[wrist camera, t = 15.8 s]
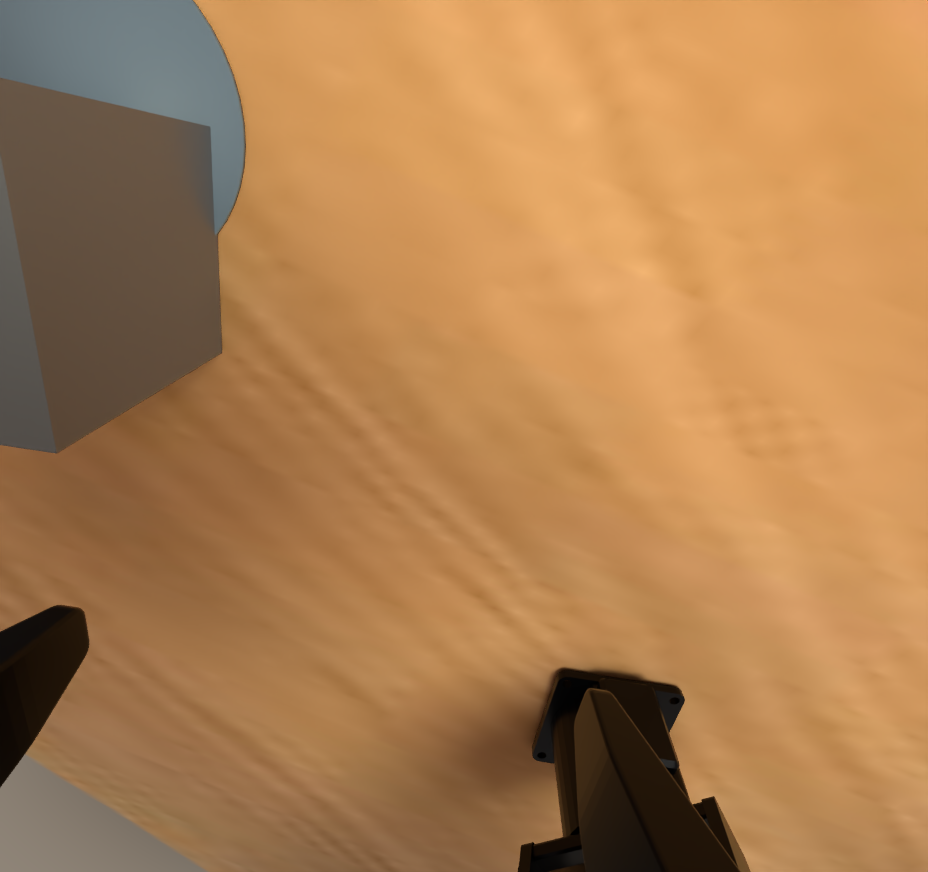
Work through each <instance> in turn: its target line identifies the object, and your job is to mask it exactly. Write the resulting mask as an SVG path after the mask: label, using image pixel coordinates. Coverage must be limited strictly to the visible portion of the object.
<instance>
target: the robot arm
mask: <svg viewBox="0 0 928 872" xmlns="http://www.w3.org/2000/svg"><path fill="white" fill-rule="evenodd" d="M88 648H89V636H88V630H87V624H86V618H85V613H84V611H83V610H82V609H81V608H78V607H71V606H65V605H56V606H53V607H50V608H48V609H46V610H44V611H42V612H40V613H38V614H36V615H34V616H32V617H30V618H28V619H26V620H24V621H21V622H19V623H17V624H15V625H13V626H11V627H9V628H7V629H5V630H3V631H1V632H0V787H1V786H2V784H3V783H4V782H5V780H6V779H7V777H8V776H9V775H10V774H11V772H12V771H13V769H14V768H15V767H16V765H17V764H18V763H19V761H20V760H21V759H22V757H23V756H24V754H25V753H26V752H27V750H28V749H29V747H30V746H31V745H32V743H33V742H34V740H35V738H36V737H37V735H38V734H39V732H40V731H41V729H42V727H43V726H44V724H45V722H46V721H47V719H48V717H49V716H50V714H51V713H52V711H53V709H54V708H55V706H56V704H57V703H58V701H59V699H60V698H61V696H62V694H63V693H64V691H65V689H66V688H67V686H68V684H69V683H70V681H71V679H72V678H73V676H74V674H75V673H76V671H77V670H78V668H79V666H80V665H81V663H82V661H83V660H84V658H85V656H86V654H87V651H88ZM566 680H569V681H566ZM684 701H685V699H684V696H683V694H682V691H681V690H680V689H679V688H676V687H671V686H664V685H658V684H652V683H645V682H639V681H633V680H626V679H620V678H614V677H607V676H601V675H595V674H588V673H582V672H576V671H569V670H564V671H561V672H559V673H558V674H557V676H556V679H555V682H554V685H553V688H552V690H551V693H550V696H549V699H548V702H547V705H546V708H545V711H544V714H543V717H542V720H541V723H540V726H539V729H538V732H537V734H536V737H535V740H534V743H533V746H532V754H533V758H534V759H535V760H537V761H541V762H547V763H554V764H555V772H556V781H557V789H558V798H559V806H560V815H561V823H562V832H563V837H562V838H558V839H554V840H550V841H546V842H542V843H538V844H534V843H533V842H532V843H528V844H524V845H521V852H520V862H519V867H518V872H750V869H749V867H748V864H747V862H746V859H745V857H744V855H743V853H742V851H741V849H740V847H739V845H738V843H737V841H736V839H735V837H734V835H733V833H732V831H731V829H730V827H729V825H728V823H727V821H726V819H725V817H724V815H723V813H722V811H721V809H720V807H719V805H718V803H717V801H716V799H715V797H714V796H713V797H709V798H705V799H702V802H701V803H697V804H693V805H692V803H691V802H690V799H689V796H688V793H687V790H686V787H685V784H684V781H683V778H682V775H681V772H680V769H679V761H678V758H677V755H676V752H675V749H674V746H673V743H672V740H671V737H670V734H669V732H670V730H671V728H672V726H673V724H674V722H675V720H676V718H677V716H678V714H679V712H680V710H681V708H682V706H683V704H684Z"/></svg>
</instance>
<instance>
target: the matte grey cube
mask: <svg viewBox="0 0 928 872" xmlns="http://www.w3.org/2000/svg"><path fill="white" fill-rule="evenodd" d="M221 353H222V338H221V312H220V287H219V261H218V235H215V227H214V202H213V178H212V153H211V129H210V126H205V125H201V124H197V123H193V122H188V121H184V120H180V119H175V118H171V117H167V116H163V115H158V114H154V113H150V112H145V111H141V110H137V109H133V108H128V107H124V106H120V105H115V104H111V103H107V102H103V101H98V100H94V99H90V98H85V97H81V96H77V95H73V94H68V93H64V92H60V91H56V90H51V89H47V88H43V87H38V86H34V85H30V84H26V83H21V82H17V81H13V80H8V79H4V78H0V445H4V446H11V447H17V448H24V449H31V450H37V451H44V452H51V453H58V452H60V451H62V450H63V449H65V448H66V447H68V446H70V445H71V444H73V443H75V442H76V441H78V440H80V439H81V438H83V437H84V436H86V435H88V434H89V433H91V432H93V431H94V430H96V429H98V428H99V427H101V426H103V425H104V424H106V423H107V422H109V421H111V420H112V419H114V418H116V417H117V416H119V415H121V414H122V413H124V412H125V411H127V410H129V409H130V408H132V407H134V406H135V405H137V404H139V403H140V402H142V401H144V400H145V399H147V398H148V397H150V396H152V395H153V394H155V393H157V392H158V391H160V390H162V389H163V388H165V387H166V386H168V385H170V384H171V383H173V382H175V381H176V380H178V379H180V378H181V377H183V376H185V375H186V374H188V373H189V372H191V371H193V370H194V369H196V368H198V367H199V366H201V365H203V364H204V363H206V362H207V361H209V360H211V359H212V358H214V357H216V356H217V355H219V354H221Z"/></svg>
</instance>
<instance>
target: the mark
mask: <svg viewBox="0 0 928 872" xmlns="http://www.w3.org/2000/svg"><path fill="white" fill-rule="evenodd" d="M0 78H4V79H8V80H13V81H17V82H21V83H26V84H30V85H34V86H38V87H43V88H47V89H51V90H56V91H60V92H64V93H68V94H73V95H77V96H81V97H85V98H90V99H94V100H98V101H103V102H107V103H111V104H115V105H120V106H124V107H128V108H133V109H137V110H141V111H145V112H150V113H154V114H158V115H163V116H167V117H171V118H175V119H180V120H184V121H188V122H193V123H197V124H201V125H205V126H210V129H211V153H212V178H213V202H214V227H215V235H217V234H218V233H219V232H220V230H221V229H222V227H223V226H224V224H225V223H226V222H227V220H228V218H229V216H230V214H231V212H232V209H233V207H234V205H235V203H236V200H237V197H238V193H239V190H240V187H241V182H242V177H243V172H244V165H245V148H246V142H245V125H244V118H243V112H242V106H241V100H240V96H239V93H238V89H237V85H236V82H235V78H234V75H233V72H232V70H231V67H230V65H229V62H228V60H227V57H226V55H225V52H224V50H223V48H222V46H221V44H220V42H219V41H218V39H217V37H216V35H215V33H214V31H213V29H212V27H211V26H210V24H209V23H208V21H207V20H206V18H205V17H204V15H203V13H202V12H201V10H200V9H199V7H198V6H197V5H196V3H195V2H194V1H193V0H0Z"/></svg>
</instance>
